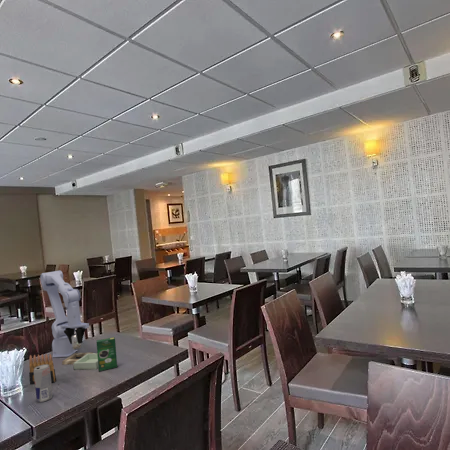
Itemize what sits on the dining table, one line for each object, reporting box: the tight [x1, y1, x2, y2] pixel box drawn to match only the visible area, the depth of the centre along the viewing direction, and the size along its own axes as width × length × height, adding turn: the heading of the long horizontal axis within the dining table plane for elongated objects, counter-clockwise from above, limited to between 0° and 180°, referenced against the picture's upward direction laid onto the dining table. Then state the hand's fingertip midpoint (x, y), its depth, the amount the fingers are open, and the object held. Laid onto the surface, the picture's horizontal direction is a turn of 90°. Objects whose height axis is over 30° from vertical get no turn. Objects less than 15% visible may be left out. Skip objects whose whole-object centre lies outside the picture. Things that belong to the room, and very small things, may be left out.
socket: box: [61, 352, 94, 365], centre depth 163 cm, size 10×10×2 cm
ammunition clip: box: [28, 353, 57, 386], centre depth 141 cm, size 11×2×12 cm, turn 84°
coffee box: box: [96, 336, 118, 372], centre depth 148 cm, size 8×3×13 cm, turn 110°
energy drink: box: [34, 364, 54, 403], centre depth 126 cm, size 5×5×12 cm
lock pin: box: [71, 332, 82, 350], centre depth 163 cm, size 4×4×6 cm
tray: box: [72, 352, 99, 371], centre depth 155 cm, size 11×11×3 cm
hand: (76, 343), depth 163 cm, fingers closed on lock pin, 4 cm apart
